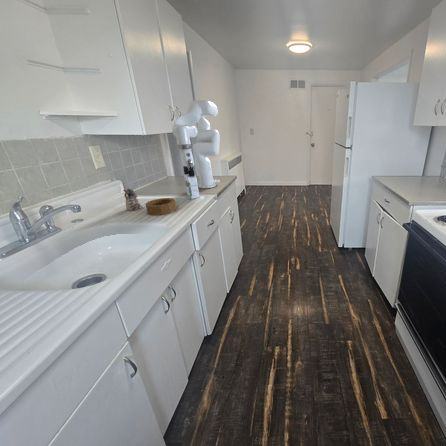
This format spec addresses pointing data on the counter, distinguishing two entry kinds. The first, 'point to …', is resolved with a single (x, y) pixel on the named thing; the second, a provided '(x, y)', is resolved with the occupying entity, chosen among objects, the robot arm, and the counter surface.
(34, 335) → the counter surface
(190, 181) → the syrup box
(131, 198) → the figurine
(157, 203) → the brown bowl
